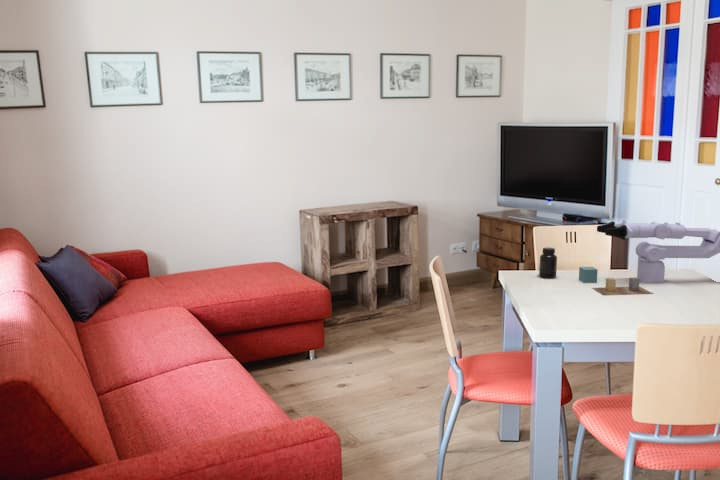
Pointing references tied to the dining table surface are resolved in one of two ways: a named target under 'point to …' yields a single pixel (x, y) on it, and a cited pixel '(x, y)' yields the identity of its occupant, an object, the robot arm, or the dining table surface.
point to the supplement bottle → (548, 263)
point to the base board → (622, 291)
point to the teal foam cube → (588, 274)
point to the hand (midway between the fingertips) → (601, 230)
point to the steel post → (633, 284)
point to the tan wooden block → (610, 285)
